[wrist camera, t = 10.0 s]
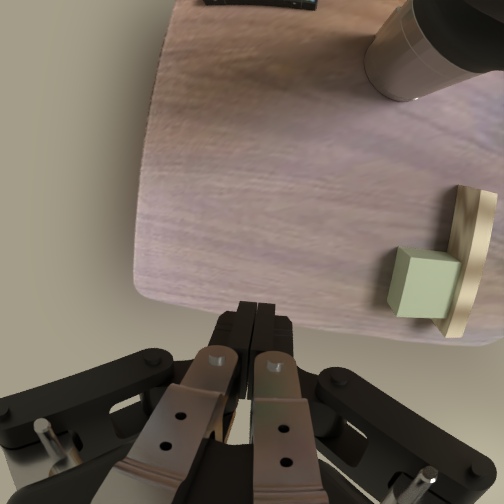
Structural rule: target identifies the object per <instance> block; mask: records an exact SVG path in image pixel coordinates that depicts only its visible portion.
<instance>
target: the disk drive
mask: <svg viewBox="0 0 504 504" xmlns="http://www.w3.org/2000/svg"><path fill="white" fill-rule="evenodd" d="M203 1H204V3H205V4H206V5H264V6H278V7H289V8H295V9H306V10H314V11H315V10H316V8H317V3H318V0H203Z"/></svg>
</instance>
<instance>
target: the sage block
mask: <svg viewBox="0 0 504 504" xmlns="http://www.w3.org/2000/svg"><path fill="white" fill-rule="evenodd" d="M461 265H462V262H460V261H459V260H457V259H456V258H454V257H453V256H451V255H450V254H448V253H447V252H441V251H433V250H424V249H416V248H407V247H398V250H397V255H396V260H395V265H394V270H393V275H392V279H391V284H390V288H389V293H388V297H387V303H388V304H389V306H390V307H391V309H392V310H393V312H394V313H395V315H396V317H415V318H447V315H448V312H449V309H450V306H451V302H452V299H453V295H454V292H455V288H456V285H457V281H458V277H459V273H460V269H461Z"/></svg>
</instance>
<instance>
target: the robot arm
mask: <svg viewBox="0 0 504 504" xmlns="http://www.w3.org/2000/svg"><path fill="white" fill-rule="evenodd" d="M364 66H365V71H366V74H367V76H368V78H369V80H370V81H371V83H372V85H373V86H374V87H375V88H376V89H377V90H378V91H379V92H380V93H382V94H383V95H385V96H386V97H388V98H390V99H393V100H396V101H403V102H405V101H412V100H414V99H418V98H420V97H422V96H425V95H428V94H430V93H433V92H435V91H438V90H440V89H443V88H446V87H448V86H451V85H454V84H456V83H459V82H462V81H464V80H467V79H470V78H473V77H475V76H478V75H481V74H484V73H487V72H490V71H494V70H499V71H504V0H407V1H406V2H405V3H404V5H403V6H402V7H397V8H396V9H395V10H394V11H393V13H392V14H391V15H390V17H389V18H388V19H387V20H386V22H385V23H384V24H383V26H382V27H381V28H380V29H379V31H378V32H377V33H376V35H375V40H374V41H373V42H372V44H371V45H370V46H369V48H368V49H367V51H366V54H365V57H364ZM292 332H293V331H292V322H291V321H290V319H289V318H288V317H287V316H277V315H275V304H270V303H258V308H257V302H247V301H240V302H239V306H238V309H237V312H233V311H226V312H224V313H223V314H222V315H220V316H219V318H218V321H217V324H216V326H215V329H214V331H213V334H212V337H211V339H210V342H209V344H208V346H207V347H204V348H202V349H201V350H200V351H199V352H198V353H197V355H196V357H195V359H192V360H185V361H173V356H172V355H171V354H170V353H169V352H168V351H166V350H163V349H159V348H148V349H145V350H141V351H139V352H136V353H133V354H131V355H128V356H125V357H122V358H120V359H117V360H114V361H112V362H109V363H106V364H103V365H100V366H98V367H95V368H92V369H89V370H86V371H84V372H81V373H78V374H75V375H72V376H69V377H66V378H63V379H60V380H57V381H54V382H51V383H48V384H45V385H42V386H39V387H36V388H33V389H29V390H26V391H23V392H20V393H16V394H13V395H10V396H6V397H3V398H0V447H1V449H2V450H3V452H4V454H5V457H6V461H7V464H8V467H9V470H10V472H11V475H12V478H13V481H14V484H15V486H16V489H17V491H16V492H15V493H14V494H13V495H12V496H11V498H10V499H9V500H8V502H7V504H374V503H373V502H372V501H371V500H369V499H368V498H367V497H366V496H365V495H364V494H363V493H361V492H360V491H359V490H358V489H357V488H356V487H355V486H353V485H352V484H351V483H350V482H349V481H348V480H347V479H346V478H345V477H344V476H343V475H341V474H340V473H339V472H338V471H337V470H336V469H335V468H333V467H332V466H331V465H329V464H328V463H326V462H324V461H322V460H320V459H318V457H317V451H316V449H317V450H318V451H319V452H320V453H321V454H323V455H324V456H325V457H326V458H327V459H328V460H329V461H331V462H332V463H333V464H334V465H335V466H336V467H337V468H339V469H340V470H341V471H342V472H343V473H344V474H346V475H347V476H348V477H349V478H350V479H352V480H353V481H354V482H355V483H356V484H358V485H359V486H360V487H361V488H363V489H364V490H365V491H366V492H367V493H369V494H370V495H371V496H373V497H374V498H375V499H376V500H378V501H379V502H380V504H474V503H475V502H476V501H477V500H478V499H479V498H480V497H481V496H482V495H483V494H484V493H485V492H486V491H487V490H488V489H489V488H490V487H491V486H492V485H493V483H494V482H495V480H496V476H497V471H496V467H495V465H494V463H493V462H492V460H491V459H489V458H488V457H487V456H485V455H483V454H482V453H480V452H478V451H477V450H475V449H473V448H472V447H470V446H468V445H467V444H465V443H463V442H462V441H459V440H458V439H457V438H455V437H453V436H452V435H450V434H448V433H447V432H445V431H444V430H442V429H440V428H439V427H437V426H436V425H434V424H432V423H431V422H429V421H427V420H426V419H424V418H423V417H421V416H419V415H418V414H416V413H415V412H413V411H412V410H410V409H408V408H407V407H405V406H404V405H402V404H401V403H399V402H398V401H396V400H395V399H393V398H392V397H390V396H389V395H387V394H386V393H384V392H382V391H381V390H380V389H378V388H376V387H375V386H373V385H372V384H370V383H369V382H367V381H366V380H364V379H363V378H361V377H360V376H358V375H357V374H356V373H354V372H352V371H351V370H349V369H346V368H342V367H330V368H327V369H324V370H323V371H322V372H320V374H319V375H316V374H312V373H309V372H306V371H304V370H302V369H300V368H299V367H298V366H297V365H296V361H295V359H294V358H293V333H292ZM247 385H248V393H247V399H248V400H251V411H250V433H249V436H250V437H249V444H242V445H228V444H226V443H227V440H228V437H229V434H230V430H231V427H232V424H233V421H234V418H235V414H236V408H237V405H238V401H239V399H245V397H246V391H247ZM138 394H139V395H140V400H141V401H139V402H136V403H134V404H132V405H129V406H127V407H125V408H122V409H120V410H118V411H115V412H113V413H111V414H109V411H110V409H111V408H112V406H114V405H115V404H117V403H119V402H122V401H124V400H127V399H128V398H131V397H134V396H136V395H138ZM347 421H348V422H349V423H351V424H352V425H353V426H355V427H356V428H357V429H359V430H360V431H361V432H362V433H364V434H365V436H366V437H367V439H366V438H365V437H364V436H362V435H361V434H360V433H359V432H357V431H356V430H355V429H353V428H352V427H351V426H350V425H348V424H347Z"/></svg>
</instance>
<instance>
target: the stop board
mask: <svg viewBox="0 0 504 504" xmlns="http://www.w3.org/2000/svg"><path fill="white" fill-rule="evenodd" d="M496 202H497V194H495V193H491V192H488V191H484V190H480V189H475V188H471V187H466V186H462V185H458V189H457V196H456V203H455V210H454V216H453V222H452V228H451V233H450V239H449V244H448V249H447V253H448V254H450V255H451V256H453V257H454V258H456V259H457V260H459V261H460V262H462V265H461V269H460V273H459V277H458V281H457V285H456V288H455V292H454V295H453V299H452V302H451V306H450V309H449V312H448V315H447V318H430V319H431V320H432V321H433V323H434V324H435V325H436V326H437V328H438V329H439V330H440V332H441V333H442V334H443V335H444V337H445V338H460V337H462V335H463V332H464V330H465V327H466V324H467V321H468V318H469V315H470V312H471V309H472V306H473V303H474V300H475V296H476V293H477V290H478V286H479V283H480V279H481V275H482V271H483V268H484V264H485V259H486V255H487V251H488V246H489V242H490V237H491V232H492V226H493V221H494V215H495V209H496Z"/></svg>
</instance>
